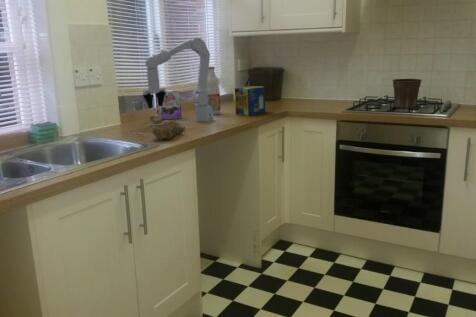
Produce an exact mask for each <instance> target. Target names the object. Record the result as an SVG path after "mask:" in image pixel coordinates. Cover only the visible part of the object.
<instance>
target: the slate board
mask: <svg viewBox="0 0 476 317" xmlns="http://www.w3.org/2000/svg"><path fill="white" fill-rule="evenodd" d="M173 121H174V122H177V123H180V124H182V125H184V124H187V123H190V122H191V121H186V120H173ZM161 125H162V124H161ZM145 126H148V127H157V126H159V125H148V124H146V125H145Z"/></svg>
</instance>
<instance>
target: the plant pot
mask: <svg viewBox="0 0 476 317" xmlns="http://www.w3.org/2000/svg"><path fill="white" fill-rule="evenodd" d="M391 81H392V86H393V99H394V108H395V107H396V108H397V109H404V110H406V109H407V110H409V108H410V109H416V108H417V106H418V98H419V92H420V88H421V83H422V81H423V80H422V79H421V78H420V79H419V78H397V79H396V78H395V79H392V80H391Z"/></svg>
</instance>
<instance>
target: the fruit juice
mask: <svg viewBox="0 0 476 317" xmlns="http://www.w3.org/2000/svg"><path fill="white" fill-rule="evenodd" d="M215 69H216V67H215V66H209V69H208V79H207V96H208V99H209V100H208V105H209V106H211V107H212V108H213V116H215V115H219V114H221V92H220V91H221V90H220V88H219V85H220V81H219V78H218V76H216V71H215Z"/></svg>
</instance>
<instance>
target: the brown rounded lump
mask: <svg viewBox="0 0 476 317" xmlns="http://www.w3.org/2000/svg"><path fill="white" fill-rule="evenodd" d="M185 130H186V126H184V124H180V123H177V122H174V121H171V122H166V123H164V124H162V125H159V126H154V128H153V129H152V131H151V132H152V134H153V135H154V136H155V137H156V138H157V139H159V140H164V141H165V140H170V139H172V138H174V137H175V136H176V135H180V134H183V133H184V131H185Z"/></svg>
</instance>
